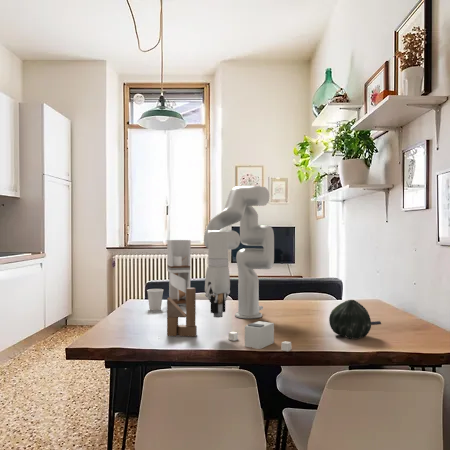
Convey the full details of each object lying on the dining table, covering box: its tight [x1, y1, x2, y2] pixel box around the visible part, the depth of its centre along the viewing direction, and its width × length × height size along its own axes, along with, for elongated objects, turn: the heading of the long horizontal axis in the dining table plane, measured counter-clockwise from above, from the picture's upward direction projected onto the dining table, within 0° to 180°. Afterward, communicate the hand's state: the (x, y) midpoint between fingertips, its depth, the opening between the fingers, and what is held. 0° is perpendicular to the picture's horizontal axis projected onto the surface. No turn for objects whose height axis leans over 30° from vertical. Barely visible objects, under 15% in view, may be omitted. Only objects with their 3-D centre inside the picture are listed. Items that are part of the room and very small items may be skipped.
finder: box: [244, 320, 275, 350], centre depth 146 cm, size 10×6×7 cm, turn 146°
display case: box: [166, 239, 192, 307], centre depth 229 cm, size 11×11×35 cm
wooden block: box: [166, 287, 198, 338], centre depth 159 cm, size 4×11×18 cm, turn 83°
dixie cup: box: [146, 288, 164, 312], centre depth 212 cm, size 8×8×10 cm
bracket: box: [371, 320, 382, 326], centre depth 185 cm, size 14×15×3 cm
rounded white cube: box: [228, 331, 239, 342], centre depth 152 cm, size 2×2×2 cm
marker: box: [280, 340, 292, 352], centre depth 139 cm, size 2×2×2 cm
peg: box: [213, 293, 224, 318], centre depth 157 cm, size 4×4×9 cm
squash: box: [328, 299, 372, 340], centre depth 157 cm, size 14×15×15 cm
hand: (218, 311), depth 157 cm, fingers closed on peg, 3 cm apart
